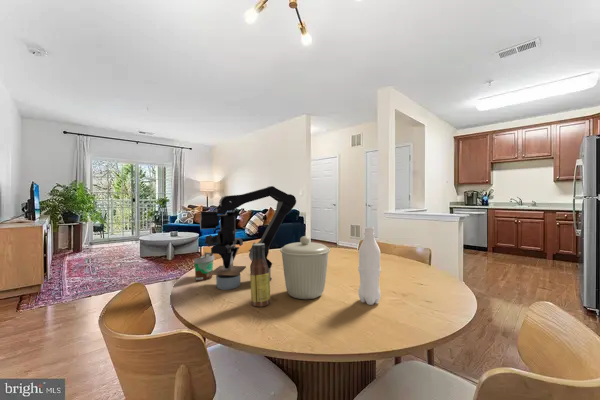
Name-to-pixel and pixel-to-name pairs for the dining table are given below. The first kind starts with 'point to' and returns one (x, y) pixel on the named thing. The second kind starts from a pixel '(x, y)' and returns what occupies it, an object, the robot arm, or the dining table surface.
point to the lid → (228, 269)
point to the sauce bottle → (259, 277)
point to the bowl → (227, 281)
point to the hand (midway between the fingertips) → (228, 267)
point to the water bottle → (369, 268)
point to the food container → (204, 267)
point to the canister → (305, 268)
